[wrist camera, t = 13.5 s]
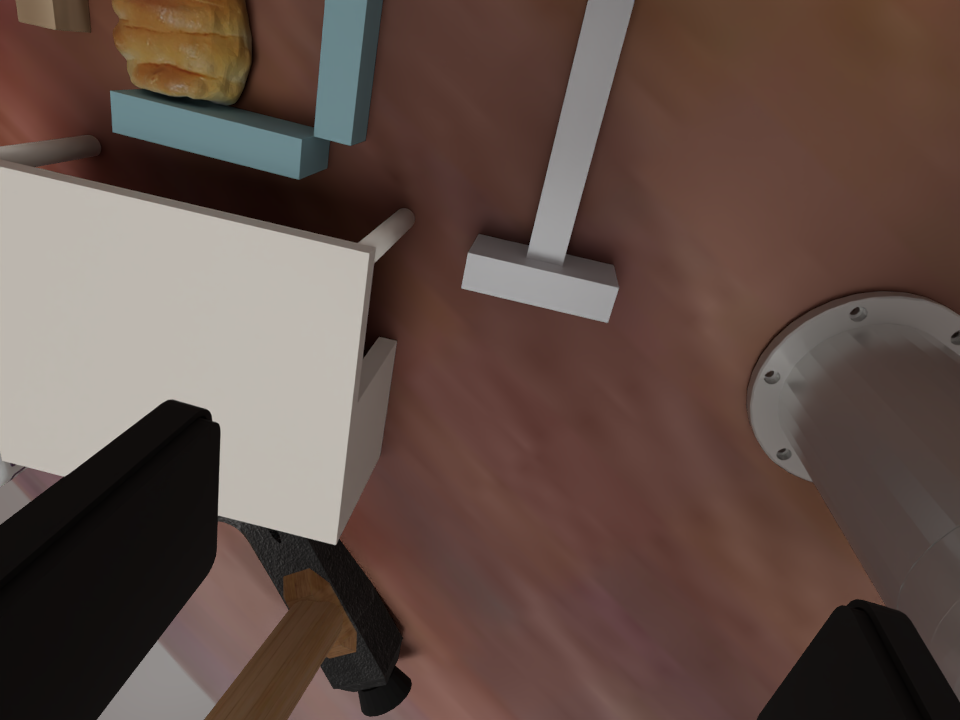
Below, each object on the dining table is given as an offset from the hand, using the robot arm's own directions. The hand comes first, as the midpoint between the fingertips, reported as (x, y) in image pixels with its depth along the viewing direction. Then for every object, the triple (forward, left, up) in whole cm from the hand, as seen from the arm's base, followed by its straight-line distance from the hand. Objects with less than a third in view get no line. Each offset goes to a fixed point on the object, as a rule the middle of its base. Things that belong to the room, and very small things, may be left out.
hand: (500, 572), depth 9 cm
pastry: (+21, -5, -28) cm, 35 cm away
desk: (+18, +10, -27) cm, 34 cm away
